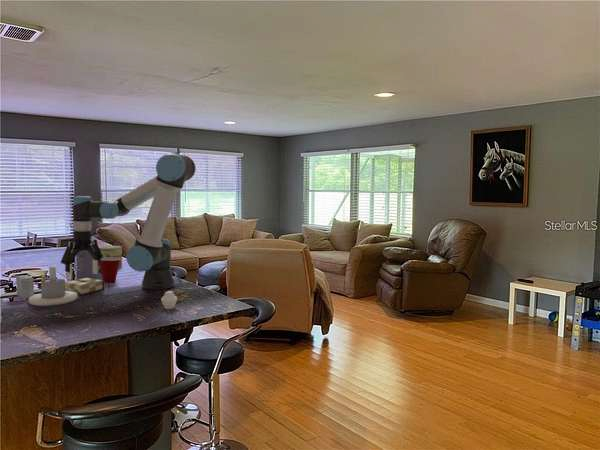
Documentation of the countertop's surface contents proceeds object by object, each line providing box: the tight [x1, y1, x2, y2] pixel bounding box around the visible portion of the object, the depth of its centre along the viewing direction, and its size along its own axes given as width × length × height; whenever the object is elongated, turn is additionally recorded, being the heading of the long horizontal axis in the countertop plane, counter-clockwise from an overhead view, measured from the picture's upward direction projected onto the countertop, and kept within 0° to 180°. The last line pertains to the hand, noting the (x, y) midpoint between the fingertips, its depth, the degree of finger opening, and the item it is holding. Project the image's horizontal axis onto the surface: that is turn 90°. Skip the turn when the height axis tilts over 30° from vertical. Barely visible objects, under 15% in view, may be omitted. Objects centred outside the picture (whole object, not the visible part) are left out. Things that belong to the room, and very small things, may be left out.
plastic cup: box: [99, 257, 121, 284], centre depth 222 cm, size 11×11×12 cm
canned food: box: [100, 245, 123, 270], centre depth 258 cm, size 11×11×12 cm
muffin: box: [160, 290, 178, 310], centre depth 178 cm, size 6×6×7 cm
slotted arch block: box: [65, 277, 104, 295], centre depth 205 cm, size 11×11×4 cm
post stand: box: [27, 265, 79, 307], centre depth 186 cm, size 18×18×14 cm
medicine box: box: [15, 274, 35, 300], centre depth 191 cm, size 8×4×9 cm, turn 47°
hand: (82, 276), depth 204 cm, fingers open, 13 cm apart
